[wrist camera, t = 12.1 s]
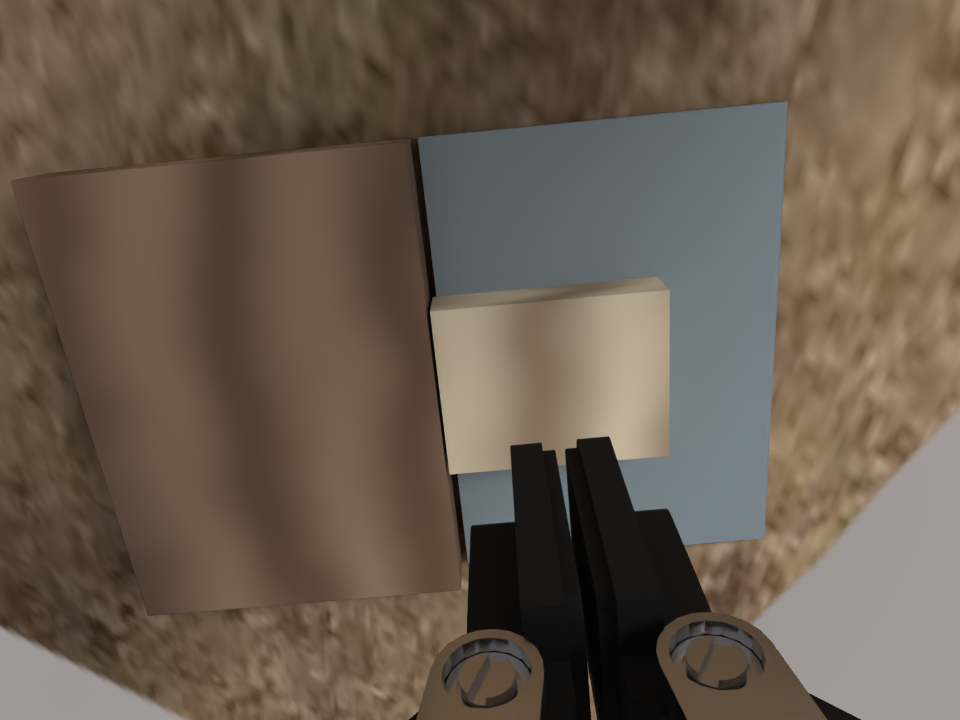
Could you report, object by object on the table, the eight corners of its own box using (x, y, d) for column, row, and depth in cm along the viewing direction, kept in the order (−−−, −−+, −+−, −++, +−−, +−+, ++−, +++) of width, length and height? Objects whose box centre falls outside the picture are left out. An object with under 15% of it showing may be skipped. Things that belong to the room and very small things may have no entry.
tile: (657, 276, 29) (669, 290, 27) (657, 433, 31) (669, 455, 29) (432, 297, 29) (430, 311, 27) (451, 451, 31) (449, 474, 29)
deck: (411, 137, 27) (404, 142, 25) (461, 555, 34) (460, 589, 32) (49, 173, 28) (10, 180, 25) (170, 580, 34) (148, 615, 32)
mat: (781, 101, 27) (788, 101, 26) (759, 531, 34) (764, 538, 33) (418, 137, 27) (417, 138, 27) (467, 555, 34) (467, 562, 33)
